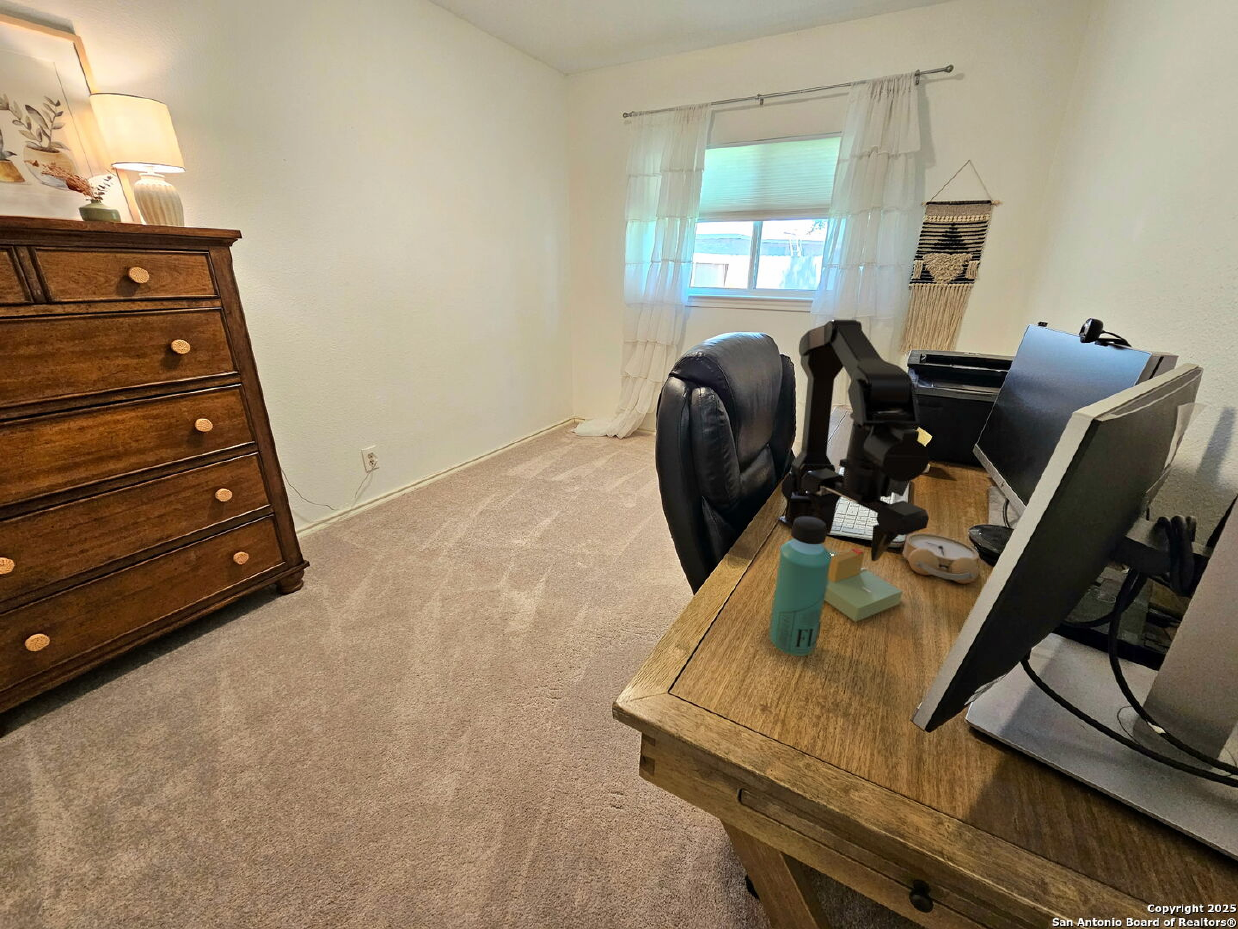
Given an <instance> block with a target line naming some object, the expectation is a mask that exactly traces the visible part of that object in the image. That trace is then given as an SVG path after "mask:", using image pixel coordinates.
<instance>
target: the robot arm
mask: <svg viewBox="0 0 1238 929" xmlns="http://www.w3.org/2000/svg"><path fill="white" fill-rule="evenodd" d="M798 354H799V356H800V366H801V368H802V370H803V372H804V373H805V375H806V377H807V386H806V396H805V405H804V406H805V407H804V417H803V428H802V439H801V449H800V452H799V453H798V454H797V456H796V457H795V458H794V459H793V461H792V462H791V465H790V471H789V473H787V475H786V477H785V478H784V479H783V481H781V494H782V495H783V498H784V499H785V501H786V507H785V512H784V513H785V514H784V516H781V517H779V518H778V521H779V522H781V523H782V524H784V525H786V526H788V527H789V528H791V529H792V528H793V524H794V521H795V519H796V518H798V517H803V516H808V517H814V518H817V519H820V520H822V521H823V522H824V523H825V524H826V536H827V535H829V534H831V532H832V528H833V525H834V520H835V515H836V509H837V504H838V502H839V501H840V499H841V498H844V499H846V500H849V501H850V502H853V503H855V504H856V505H859V506H861V507H864V508H865V509H867V510H870V511H872V512H875V513H876V522H877V523H878V524H874V525H872V533H871V535H872V536H871V537H872V539H871V547H870V560H871V561H872V562H877V561H879V559H880V558H882V556H883V554H884V553H885V552H886V551H887V549H888V548H889V547H890V545H891V544H892V543H893V541H894V540H895V539H896V538H898V536H905V535H906V536H907V535H909V534H912V533H916V532H918V531H921V530H925V529H927V528H928V523H929V519H930V517H929V513H928V511H927V509H925V508H923V507H920V506H918V505H915V504H913V503H910V502H908V501H906V500H900V501H897V502H896V501H895V502H892V503H889V502H886V501H884V500H882V499H881V498H882V497H884V498H890V497H892V494H896V495H898V496H900V497H904V494H905V493H906V490H907V488H908V486H909V484H910V482H911V481H913V480H915V479H917V478H918V477H920V476H921V475H922V474H924V473H925V471H926V469H927V468H928V466H929V463H930V455H929V451H928V449H927V447H926V446H925V444H924V443H922V442H920V441H919V438H920V437H919V436H920V432H919V431H920V430H917V429H915V428H911V427H917V428H919V427H920V425H921V420H920V416H921V415H922V411H921V409H920V405H919V401H918V398H917V394H916V388H915V383H914V382H913V379H912V377H911V375H910V374H909V373H908V372H906V370H904V369H903V368H902V367H900V365H897V364H894V363H891V362H888V361H886V360H884V359H883V358H882V357H881V356H880V354H879V353H878V351H877V350H876V348H875V347H874V345H873V344H872V342H871V341H870V339H869V338H868V336H866V334H865V332H864V331H863V325H862V323H861V321H859V320H857V319H832V320H829V321H826V323H825V324H824V325H820V326H818V327H814V328H812V329H809V330H808V331H807V332H806V333H805V334H803V336H802V337H800V340H799V344H798ZM843 368H844V370H845V371H846V373H847V375H848V376H849V378H850V383H849V386H848V389H847V394H848V401H849V404H850V407H851V410H852V412H851V413H850V414H849V418H850V419H852V420H853V421H852V425H851V430H850V436H849V441H848V447H847V450H846V457H845V458H841V459H839V463H838V466H839V467H840V468H843V474H841V473H838V472H836V466H835V465H834V464H832V461H831V460H830V458H829V457H828V443H829V434H830V425H831V417H832V416H831V415H832V405H833V396H834V386H835V385H834V384H835V379H836V378H837V376H838V375H839V374H840V372H841V371H842V370H843ZM900 412H902V413H900Z"/></svg>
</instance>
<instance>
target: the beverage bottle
mask: <svg viewBox="0 0 1238 929" xmlns="http://www.w3.org/2000/svg"><path fill="white" fill-rule="evenodd" d="M790 535H791V537H792V538H793V539H790V540H787V541H786V542H785V543H783V544H782V545H781V546H780V549H779V560H778V569H777V575H776V584H775V589H774V593H773V601H772V604H771V605H772V606H771V614H770V616H769V627H768V634H769V639H770V641H771V643H772V645H773V646H774V647H775V648H776V649H778V650H779V651H780V652H782V653H784V654H787V655H790V656H795V657H805V656H808V655H810V654H811V653H813V652H814V650H815V649H816V648H817V643H818V641H819V638H820V634H819V633H820V631H821V625H822V621H823V618H822V615H823V614H822V613H823V611H824V602H825V600H824V597H825V593H827V592H826V591H827V589H826V586H827V587H828V585H827V583H828V582H827V580H828V575H829V574H828V573H829V567H830V563H831V554H830V553H829V551H828V550H829V549H827V547H825V546H824V545H823V543H825V542H826V538H827V535H826V524H825V523H824V522H823V521H822V520H820V519H817V518H814V517H808V516H803V517H798V518H796V519H795V521H794V524H793V528H791V531H790Z"/></svg>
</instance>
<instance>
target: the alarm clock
mask: <svg viewBox="0 0 1238 929" xmlns="http://www.w3.org/2000/svg"><path fill="white" fill-rule="evenodd" d="M902 556H903V558H904V559H906V560H907V561H908V564H909V567H910V568H911V569H912V570H913V572H915V573H917V574H918V575H921V576H930V575H933V576H935V577H939V578H942V579H946V580H951V581H954V582H956V583H957V584H962V585H963V584H965V585H966V584H969V583H972V582H974V581H976V579H977V578H978V576H979V574H980V568H979V565H978V560H979V558H980V553H979V552H978V551H977V550H976V549H975V548H974V547H973V546H971V545H970V544H967V543H965V542H963V541H961V540H959V539H955V538H952V537H949V536H946V535H941V534H938V533H937V534H936V533H929V532H912V533H909V534H906V537H905V542H904V547H903V550H902Z"/></svg>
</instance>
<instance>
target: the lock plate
mask: <svg viewBox="0 0 1238 929" xmlns="http://www.w3.org/2000/svg"><path fill="white" fill-rule="evenodd" d="M827 550H828V551H829V553H831V554H834V556H835V555H838V554H839V553H838V552H837V551H835V550H833V549H827ZM827 582H828V583H827V585H828V587H827V586H826V589H827V591H826V592H827V593H825V597H824V602H827V603H828V604H829V605H831V606H832V607H833V608H835V609H836V610H838V611H839V612H840V613H842V614H844V615H845V616H846V617H847V618H849V619H850V620H852V621H853V622H855V623H857V622H859V621H861V620H864V619H865V618H868V617H871V616H874V615H876V614H878V613H881V612H883V611H885V610H888V609H890V608H893V607H895V606H898V605H900V603H901V599H902V594H903V591H902V590H901V589H899V588H898V587H896V586H894V585H892V584H891V583H889V582H888V581H886V580H884V579H883V578H881V577H879V576H878V575H875V574H874V573H872V572H871V571H870V570H867V568H866V567H861V572H860V574H857V575H855V576H852V577H849V578H846V579H843V580H840V581H837V582H833V581H831V580H830V579H828V580H827Z"/></svg>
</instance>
